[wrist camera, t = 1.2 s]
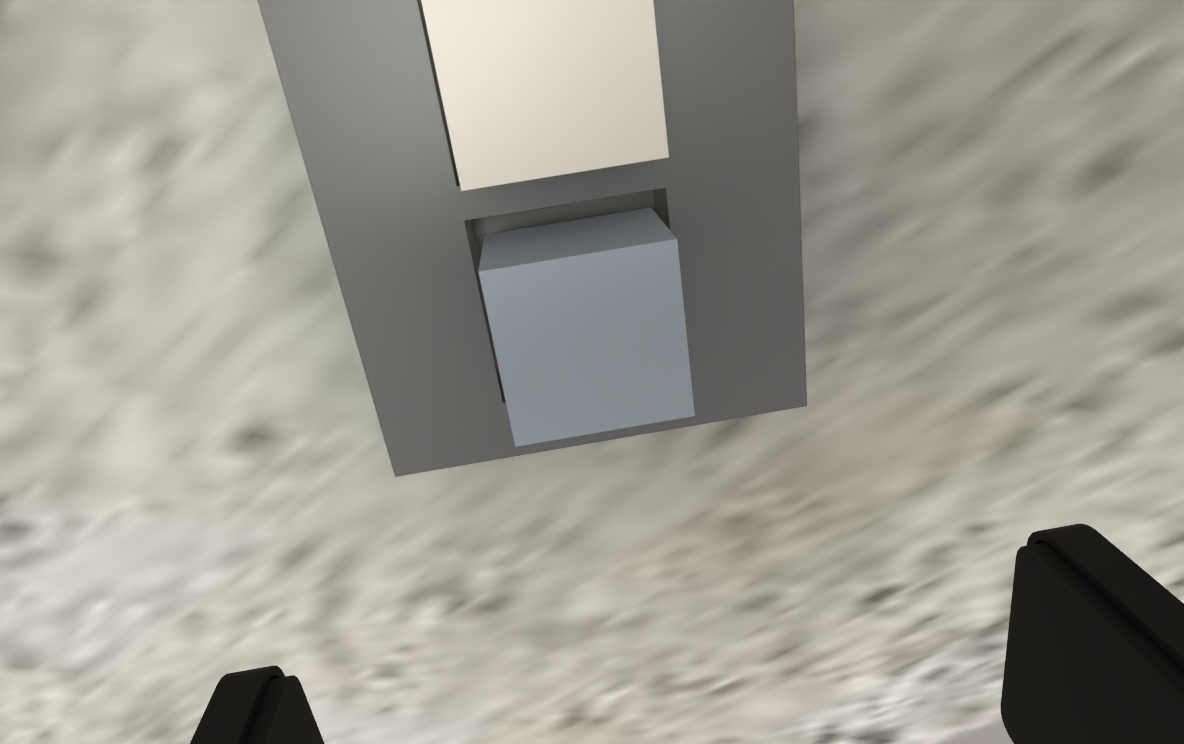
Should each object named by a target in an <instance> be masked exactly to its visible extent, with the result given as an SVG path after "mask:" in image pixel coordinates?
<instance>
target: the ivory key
mask: <svg viewBox="0 0 1184 744" xmlns="http://www.w3.org/2000/svg"><path fill="white" fill-rule="evenodd" d="M421 2H422V7H423V12H424V16H425V21H426V26H427V31H428V35H429V40H430V45H431V50H432V54H433V59H434V64H435V69H436V73H437V78H438V83H439V88H440V92H441V97H442V102H443V106H444V111H445V116H446V121H447V125H448V130H449V135H450V140H451V144H452V149H453V154H454V159H455V163H456V168H457V173H458V178H459V182H460V187H461V191H465V190H471V189H477V188H483V187H489V186H496V185H502V184H508V183H514V182H520V181H526V180H533V179H539V178H545V177H551V176H557V175H563V174H570V173H576V172H582V171H588V170H594V169H600V168H607V167H613V166H619V165H625V164H631V163H637V162H643V161H650V160H656V159H662V158H668V157H669V153H668V143H667V133H666V123H665V113H664V103H663V93H662V83H661V73H660V63H659V53H658V43H657V33H656V24H655V14H654V4H653V0H421Z"/></svg>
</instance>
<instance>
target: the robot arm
mask: <svg viewBox="0 0 1184 744" xmlns="http://www.w3.org/2000/svg"><path fill="white" fill-rule="evenodd" d="M1001 715H1002V719H1003V723H1004V726H1005V728H1006V730H1007V732H1008V735H1009V736H1010V738H1011V739H1012V741H1013V743H1014V744H1184V604H1183V603H1182V602H1181V601H1180V600H1179V599H1177V598H1176V597H1175V596H1174V595H1173V594H1171V593H1170V592H1169V591H1168V590H1167V589H1166V588H1164V587H1163V586H1162V585H1161V584H1160V583H1158V582H1157V581H1156V580H1155V579H1154V578H1152V577H1151V576H1150V575H1149V574H1148V573H1146V572H1145V571H1144V570H1143V569H1142V568H1140V567H1139V566H1138V565H1137V564H1136V563H1134V562H1133V561H1132V560H1131V559H1130V558H1128V557H1127V556H1126V555H1125V554H1124V553H1123V552H1121V551H1120V550H1119V549H1118V548H1117V547H1115V546H1114V545H1113V544H1112V543H1111V542H1109V541H1108V540H1107V539H1106V538H1105V537H1103V536H1102V535H1101V534H1100V533H1099V532H1097V531H1096V530H1095V529H1093V528H1092V527H1090V526H1088V525H1085V524H1075V525H1070V526H1064V527H1058V528H1053V529H1047V530H1041V531H1037V532H1034V533H1032V534H1031V535H1030V537H1029V538H1028V542H1027V546H1023V547H1020V549H1019V550H1018V551H1017V555H1016V563H1015V573H1014V582H1013V592H1012V602H1011V611H1010V621H1009V631H1008V640H1007V650H1006V660H1005V669H1004V679H1003V689H1002V698H1001ZM190 744H324V742H323V739H322V737H321V734H320V731H319V729H318V726H317V724H316V721H315V719H314V716H313V714H312V711H311V708H310V706H309V703H308V701H307V698H306V696H305V693H304V691H303V688H302V685H301V683H300V681H299V679H298V678H297V677H296V676H286V677H285V675H284V673H283V671H282V670H281V669H280V668H279V667H278V666H269V667H263V668H257V669H252V670H246V671H240V672H235V673H229V674H226V675H225V676H223V677H222V678H221V680H220V681H219V683H218V684H217V686H216V688H215V691H214V693H213V695H212V697H211V699H210V701H209V704H208V706H207V708H206V710H205V712H204V714H203V717H202V719H201V721H200V723H199V725H198V727H197V730H196V732H195V734H194V736H193V738H192V740H191V743H190Z"/></svg>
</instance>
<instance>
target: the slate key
mask: <svg viewBox="0 0 1184 744" xmlns="http://www.w3.org/2000/svg"><path fill="white" fill-rule="evenodd" d="M478 272H479V277H480V282H481V287H482V291H483V296H484V301H485V306H486V310H487V315H488V320H489V325H490V329H491V334H492V339H493V344H494V348H495V353H496V358H497V362H498V367H499V372H500V377H501V381H502V386H503V391H504V396H505V400H506V405H507V410H508V415H509V419H510V424H511V429H512V434H513V438H514V443H515V447H517V446H523V445H528V444H534V443H540V442H546V441H552V440H558V439H563V438H569V437H575V436H581V435H587V434H593V433H598V432H604V431H610V430H616V429H622V428H628V427H633V426H639V425H645V424H651V423H657V422H662V421H668V420H674V419H680V418H686V417H692V416H695V413H694V403H693V393H692V383H691V373H690V363H689V353H688V343H687V333H686V323H685V313H684V303H683V293H682V283H681V273H680V263H679V253H678V243H677V238H676V237H675V236H674V235H673V233H672V232H671V231H670V230H669V229H668V227H667V226H666V225H665V224H664V222H663V221H662V220H661V219H660V218H659V216H658V215H657V214H656V213H655V211H654V210H653V209H652V208H651V207H650V208H644V209H638V210H632V211H626V212H619V213H613V214H607V215H601V216H595V217H589V218H583V219H577V220H571V221H565V222H558V223H552V224H546V225H540V226H534V227H528V228H522V229H516V230H510V231H504V232H497V233H491V234H485V235H484V240H483V246H482V252H481V259H480V265H479V271H478Z"/></svg>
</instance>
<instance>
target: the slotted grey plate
mask: <svg viewBox="0 0 1184 744" xmlns="http://www.w3.org/2000/svg"><path fill="white" fill-rule="evenodd" d="M258 4H259V7H260V10H261V14H262V17H263V21H264V24H265V28H266V31H267V35H268V38H269V42H270V45H271V49H272V52H273V55H274V59H275V62H276V66H277V69H278V73H279V76H280V80H281V83H282V87H283V90H284V93H285V97H286V100H287V104H288V107H289V111H290V114H291V118H292V121H293V125H294V128H295V132H296V135H297V138H298V142H299V145H300V149H301V152H302V156H303V159H304V163H305V166H306V170H307V173H308V177H309V180H310V183H311V187H312V190H313V194H314V197H315V201H316V204H317V208H318V211H319V215H320V218H321V222H322V225H323V228H324V232H325V235H326V239H327V242H328V246H329V249H330V253H331V256H332V260H333V263H334V267H335V270H336V273H337V277H338V280H339V284H340V287H341V291H342V294H343V298H344V301H345V305H346V308H347V312H348V315H349V318H350V322H351V325H352V329H353V332H354V336H355V339H356V343H357V346H358V350H359V353H360V357H361V360H362V363H363V367H364V370H365V374H366V377H367V381H368V384H369V388H370V391H371V395H372V398H373V402H374V405H375V408H376V412H377V415H378V419H379V422H380V426H381V429H382V433H383V436H384V440H385V443H386V447H387V450H388V453H389V457H390V460H391V464H392V467H393V471H394V474H395V477H396V476H402V475H408V474H414V473H420V472H426V471H431V470H437V469H443V468H449V467H455V466H460V465H466V464H472V463H478V462H484V461H490V460H495V459H501V458H507V457H513V456H519V455H524V454H530V453H536V452H542V451H548V450H553V449H559V448H565V447H571V446H577V445H583V444H588V443H594V442H600V441H606V440H612V439H617V438H623V437H629V436H635V435H641V434H646V433H652V432H658V431H664V430H670V429H676V428H681V427H687V426H693V425H699V424H705V423H710V422H716V421H722V420H728V419H734V418H740V417H745V416H751V415H757V414H763V413H769V412H774V411H780V410H786V409H792V408H798V407H803V406H807V393H806V363H805V333H804V303H803V273H802V243H801V213H800V183H799V153H798V123H797V93H796V63H795V33H794V3H793V0H653V4H654V14H655V24H656V33H657V43H658V53H659V63H660V73H661V83H662V93H663V103H664V113H665V123H666V133H667V143H668V153H669V157H668V158H662V159H656V160H650V161H643V162H637V163H631V164H625V165H619V166H613V167H607V168H600V169H594V170H588V171H582V172H576V173H570V174H563V175H557V176H551V177H545V178H539V179H533V180H526V181H520V182H514V183H508V184H502V185H496V186H489V187H483V188H477V189H471V190H465V191H461V187H460V182H459V178H458V173H457V168H456V163H455V159H454V154H453V149H452V144H451V140H450V135H449V130H448V125H447V121H446V116H445V111H444V106H443V102H442V97H441V92H440V88H439V83H438V78H437V73H436V69H435V64H434V59H433V54H432V50H431V45H430V40H429V35H428V31H427V26H426V21H425V16H424V12H423V7H422V2H421V0H258ZM649 190H654V197H655V206H656V214H657V215H658V216H659V218H660V219H661V220H662V221H663V222H664V224H665V225H666V226H667V227H668V229H669V230H670V231H671V232H672V233H673V235H674V236H675V237H676V238H677V243H678V253H679V263H680V273H681V283H682V293H683V303H684V313H685V323H686V333H687V343H688V353H689V363H690V373H691V383H692V393H693V403H694V413H695V416H692V417H686V418H680V419H674V420H668V421H662V422H657V423H651V424H645V425H639V426H633V427H628V428H622V429H616V430H610V431H604V432H598V433H593V434H587V435H581V436H575V437H569V438H563V439H558V440H552V441H546V442H540V443H534V444H528V445H523V446H517V447H515V443H514V438H513V434H512V429H511V424H510V419H509V415H508V410H507V405H506V400H505V396H504V391H503V386H502V381H501V377H500V372H499V367H498V362H497V358H496V353H495V348H494V344H493V339H492V334H491V329H490V325H489V320H488V315H487V310H486V306H485V301H484V296H483V291H482V287H481V282H480V277H479V272H478V271H479V265H480V256H479V251H478V247H477V242H476V237H475V232H474V227H473V223H472V219H478V218H484V217H490V216H496V215H502V214H508V213H514V212H520V211H527V210H533V209H539V208H545V207H551V206H557V205H563V204H569V203H576V202H582V201H588V200H594V199H600V198H606V197H612V196H618V195H625V194H631V193H637V192H643V191H649Z"/></svg>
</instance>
